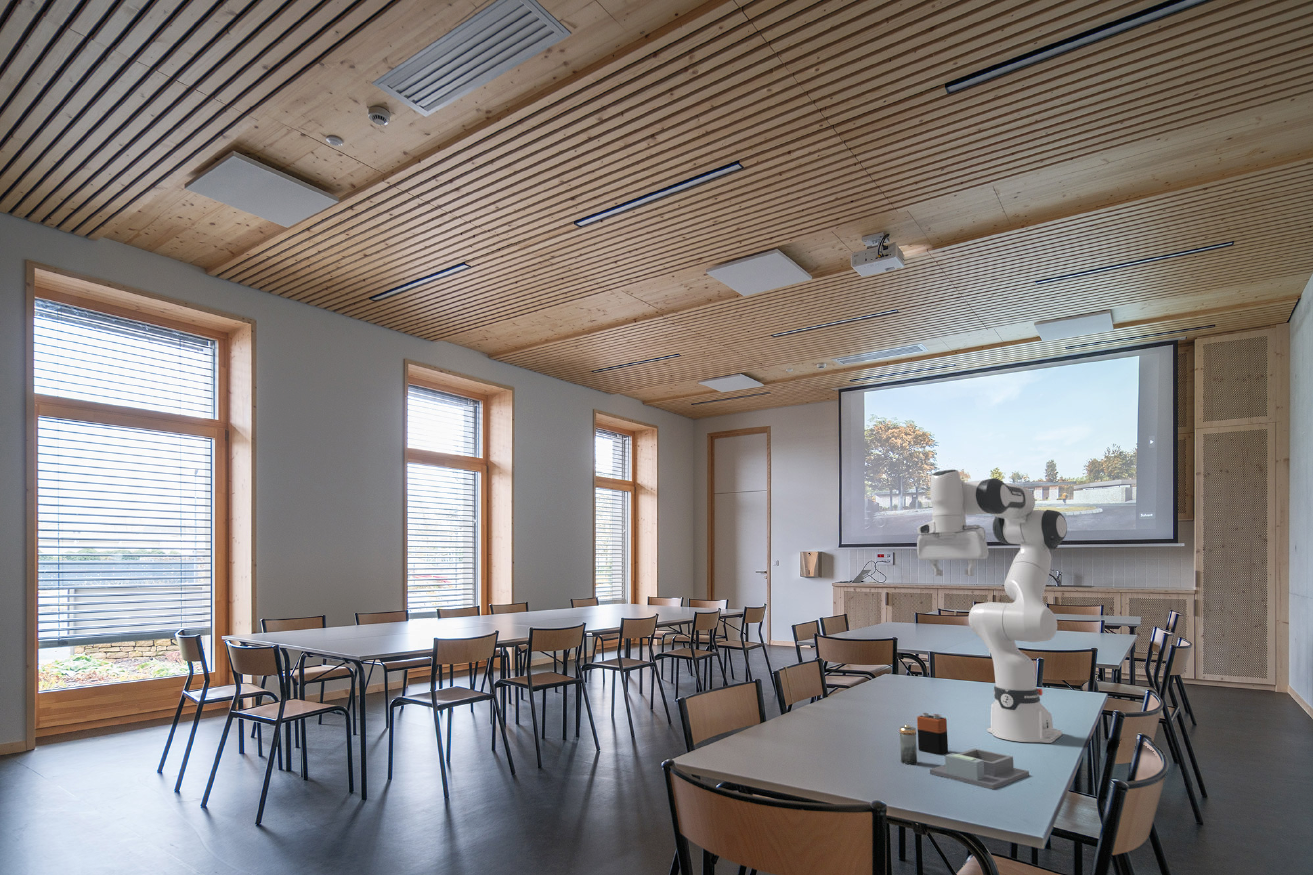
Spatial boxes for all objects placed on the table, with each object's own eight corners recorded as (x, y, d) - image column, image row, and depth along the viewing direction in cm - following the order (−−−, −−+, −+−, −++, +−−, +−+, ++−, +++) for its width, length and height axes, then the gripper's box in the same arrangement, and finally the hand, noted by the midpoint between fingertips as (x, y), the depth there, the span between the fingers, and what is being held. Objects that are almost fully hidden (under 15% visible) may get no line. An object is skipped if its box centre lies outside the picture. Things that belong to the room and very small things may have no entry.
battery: (941, 755, 204) (939, 716, 206) (917, 750, 209) (916, 712, 211) (948, 752, 207) (946, 714, 208) (925, 747, 212) (923, 710, 213)
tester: (967, 761, 198) (966, 740, 199) (1029, 775, 186) (1027, 753, 187) (930, 773, 187) (929, 751, 188) (993, 789, 175) (991, 765, 176)
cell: (906, 759, 200) (904, 723, 201) (920, 762, 197) (918, 725, 198) (897, 762, 197) (896, 725, 199) (911, 765, 194) (910, 728, 196)
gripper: (990, 524, 208) (995, 575, 206) (924, 528, 224) (928, 575, 222) (977, 524, 204) (982, 576, 202) (912, 528, 220) (916, 576, 218)
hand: (954, 576), depth 212 cm, fingers open, 8 cm apart
